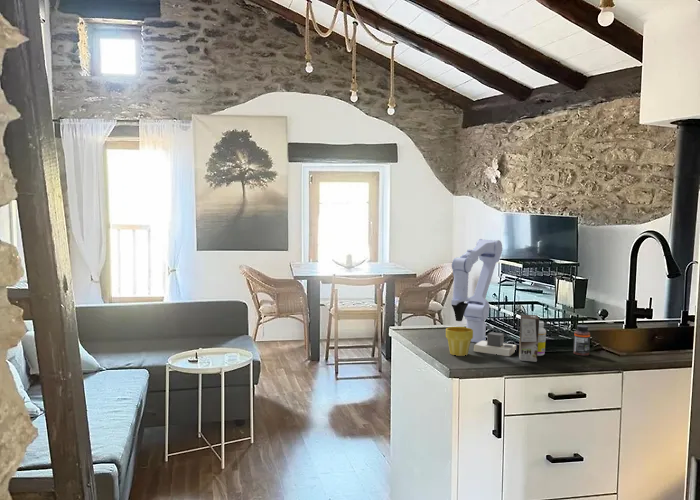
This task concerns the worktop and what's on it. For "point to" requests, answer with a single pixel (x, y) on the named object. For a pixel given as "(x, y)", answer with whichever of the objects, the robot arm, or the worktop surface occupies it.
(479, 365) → the worktop surface
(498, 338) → the plug
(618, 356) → the worktop surface
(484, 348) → the socket
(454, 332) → the plant pot
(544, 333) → the supplement bottle
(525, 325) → the coffee box
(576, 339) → the supplement bottle
